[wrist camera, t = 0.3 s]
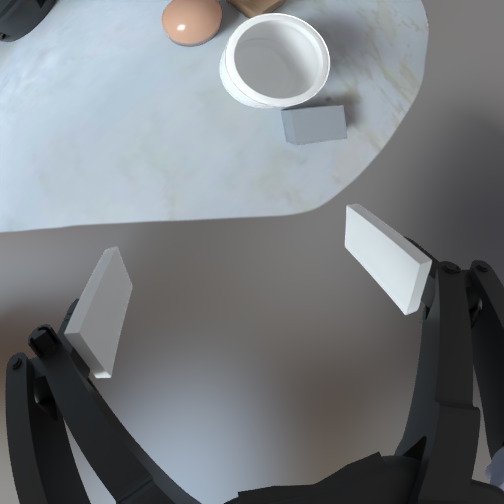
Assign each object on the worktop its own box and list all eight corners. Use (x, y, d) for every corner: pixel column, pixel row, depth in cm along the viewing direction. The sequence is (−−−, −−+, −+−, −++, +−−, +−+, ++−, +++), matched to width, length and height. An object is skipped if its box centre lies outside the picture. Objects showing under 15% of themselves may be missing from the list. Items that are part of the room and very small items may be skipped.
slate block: (280, 110, 37) (290, 110, 33) (328, 105, 37) (343, 105, 33) (286, 141, 39) (296, 145, 35) (332, 134, 40) (347, 138, 36)
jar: (257, 33, 30) (287, -3, 17) (300, 83, 35) (349, 73, 22) (200, 73, 32) (200, 50, 19) (246, 123, 37) (271, 128, 24)
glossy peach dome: (156, 17, 26) (152, 9, 23) (206, -4, 26) (207, -14, 22) (178, 55, 30) (175, 49, 27) (229, 33, 30) (231, 25, 26)
